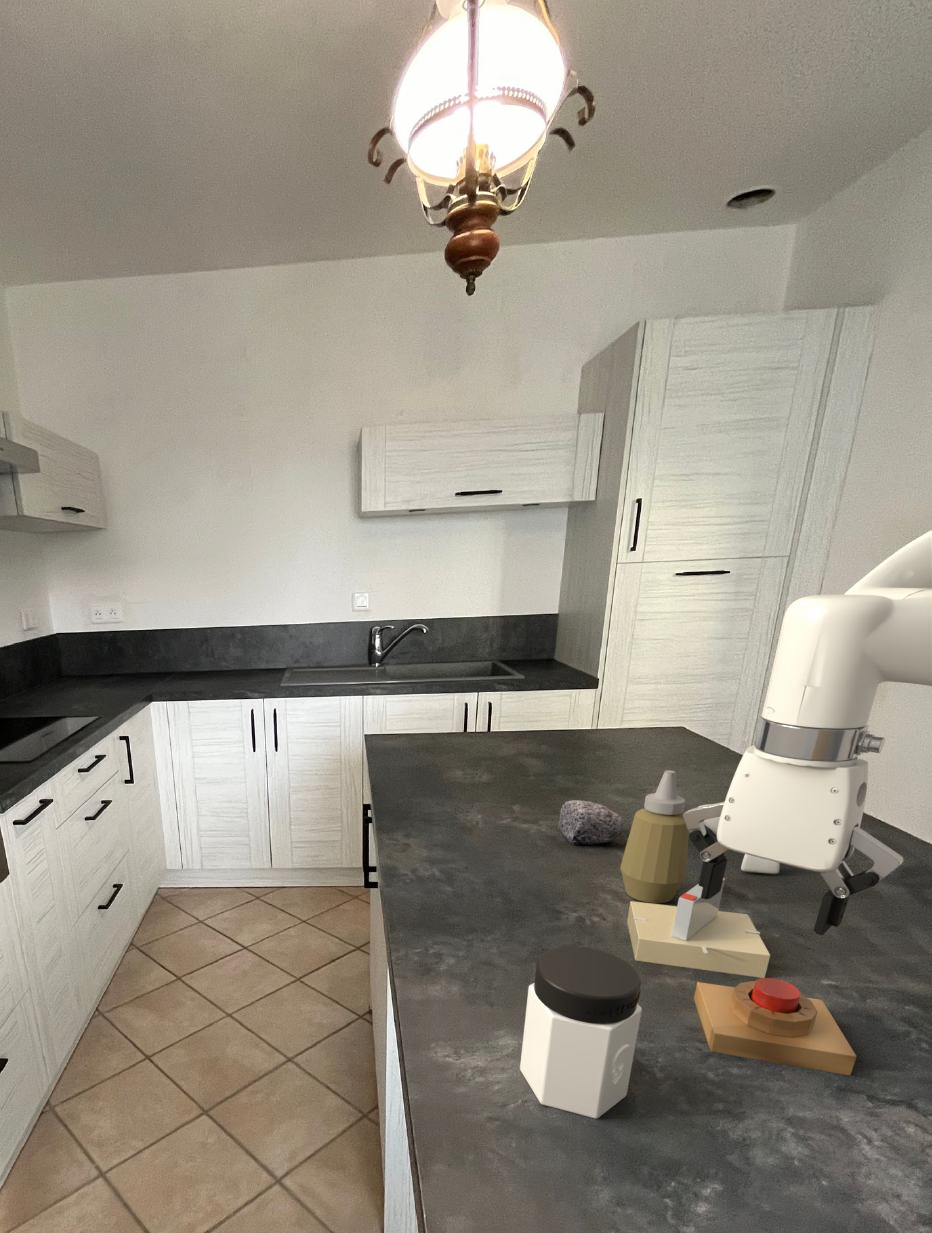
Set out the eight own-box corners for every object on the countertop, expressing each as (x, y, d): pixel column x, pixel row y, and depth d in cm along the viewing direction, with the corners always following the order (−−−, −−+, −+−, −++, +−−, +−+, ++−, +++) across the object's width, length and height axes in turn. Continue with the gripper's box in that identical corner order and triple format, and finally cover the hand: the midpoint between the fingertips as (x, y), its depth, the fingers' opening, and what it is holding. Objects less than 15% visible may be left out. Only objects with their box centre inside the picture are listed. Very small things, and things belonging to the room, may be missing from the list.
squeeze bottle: (617, 879, 101) (635, 761, 94) (680, 888, 97) (703, 766, 91) (615, 902, 94) (635, 777, 87) (682, 912, 90) (708, 783, 84)
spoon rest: (687, 819, 122) (694, 780, 120) (763, 824, 119) (772, 785, 116) (715, 871, 102) (725, 826, 99) (809, 880, 98) (822, 833, 95)
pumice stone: (609, 846, 118) (552, 824, 121) (629, 806, 115) (570, 785, 118) (609, 867, 109) (547, 843, 112) (630, 825, 106) (566, 802, 109)
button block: (817, 1017, 69) (826, 984, 68) (850, 1076, 61) (862, 1039, 60) (693, 999, 73) (700, 966, 71) (710, 1052, 65) (718, 1017, 64)
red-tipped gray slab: (703, 911, 84) (711, 872, 83) (717, 915, 83) (725, 876, 81) (671, 936, 79) (679, 895, 77) (686, 941, 78) (694, 900, 76)
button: (789, 996, 67) (794, 981, 66) (801, 1017, 64) (806, 1002, 63) (747, 990, 68) (750, 975, 67) (756, 1011, 65) (760, 995, 64)
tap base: (740, 929, 86) (746, 907, 85) (769, 986, 74) (776, 961, 73) (625, 915, 90) (628, 894, 89) (635, 967, 79) (639, 943, 78)
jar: (583, 1134, 56) (602, 1012, 52) (502, 1079, 63) (513, 967, 58) (642, 1087, 61) (664, 972, 57) (561, 1041, 67) (575, 934, 63)
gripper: (945, 750, 57) (886, 931, 63) (718, 720, 69) (686, 873, 76) (924, 767, 52) (862, 960, 59) (685, 732, 65) (655, 894, 71)
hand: (763, 911), depth 67 cm, fingers open, 9 cm apart
